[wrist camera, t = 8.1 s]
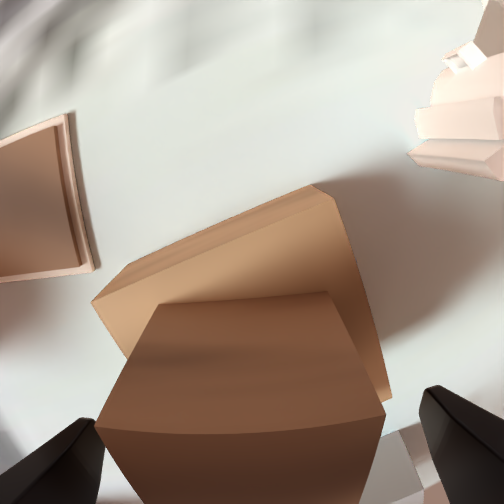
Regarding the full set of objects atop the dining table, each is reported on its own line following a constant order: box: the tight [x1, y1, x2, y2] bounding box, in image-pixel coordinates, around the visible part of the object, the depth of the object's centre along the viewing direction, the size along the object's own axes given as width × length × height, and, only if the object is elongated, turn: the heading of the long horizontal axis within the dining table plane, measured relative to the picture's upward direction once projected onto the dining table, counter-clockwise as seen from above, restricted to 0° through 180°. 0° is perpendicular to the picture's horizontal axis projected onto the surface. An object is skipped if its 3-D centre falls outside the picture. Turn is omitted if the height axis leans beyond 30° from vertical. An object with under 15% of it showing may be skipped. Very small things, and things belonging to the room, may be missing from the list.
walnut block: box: [94, 291, 386, 504], centre depth 8 cm, size 5×5×5 cm
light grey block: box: [359, 430, 424, 504], centre depth 15 cm, size 5×5×5 cm
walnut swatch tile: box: [0, 114, 95, 283], centre depth 12 cm, size 7×7×1 cm
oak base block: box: [91, 185, 392, 403], centre depth 12 cm, size 8×8×4 cm
